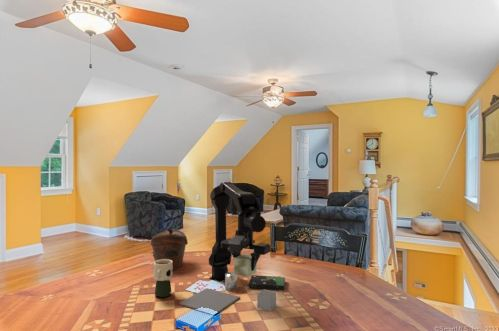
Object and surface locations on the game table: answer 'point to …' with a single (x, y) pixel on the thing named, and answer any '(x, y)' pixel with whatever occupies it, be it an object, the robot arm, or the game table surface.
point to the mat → (210, 300)
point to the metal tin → (230, 281)
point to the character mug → (163, 277)
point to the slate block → (266, 300)
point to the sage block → (243, 265)
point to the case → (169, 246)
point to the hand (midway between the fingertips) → (245, 269)
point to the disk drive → (267, 283)
